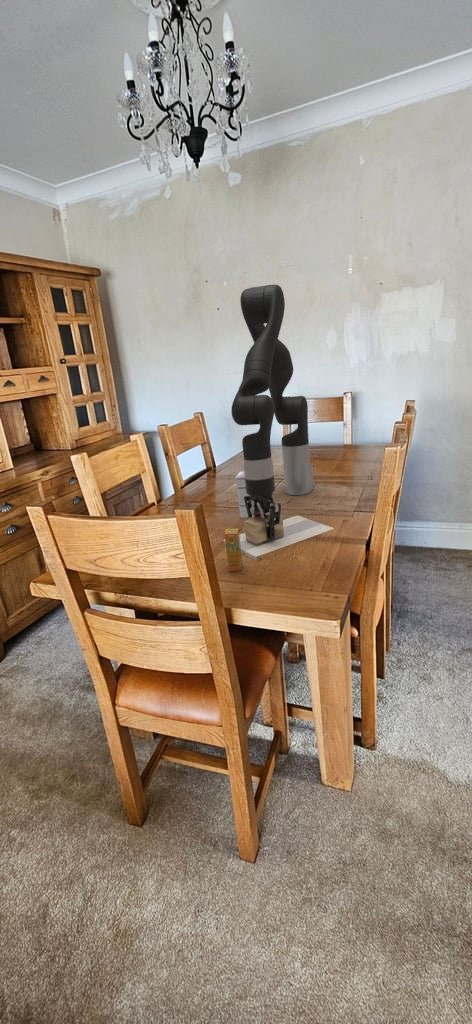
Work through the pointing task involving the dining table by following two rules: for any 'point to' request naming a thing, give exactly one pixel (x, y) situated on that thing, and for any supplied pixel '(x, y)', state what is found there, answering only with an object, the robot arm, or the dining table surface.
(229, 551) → the supplement box
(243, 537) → the board
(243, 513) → the syrup box
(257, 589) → the dining table surface
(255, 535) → the block
